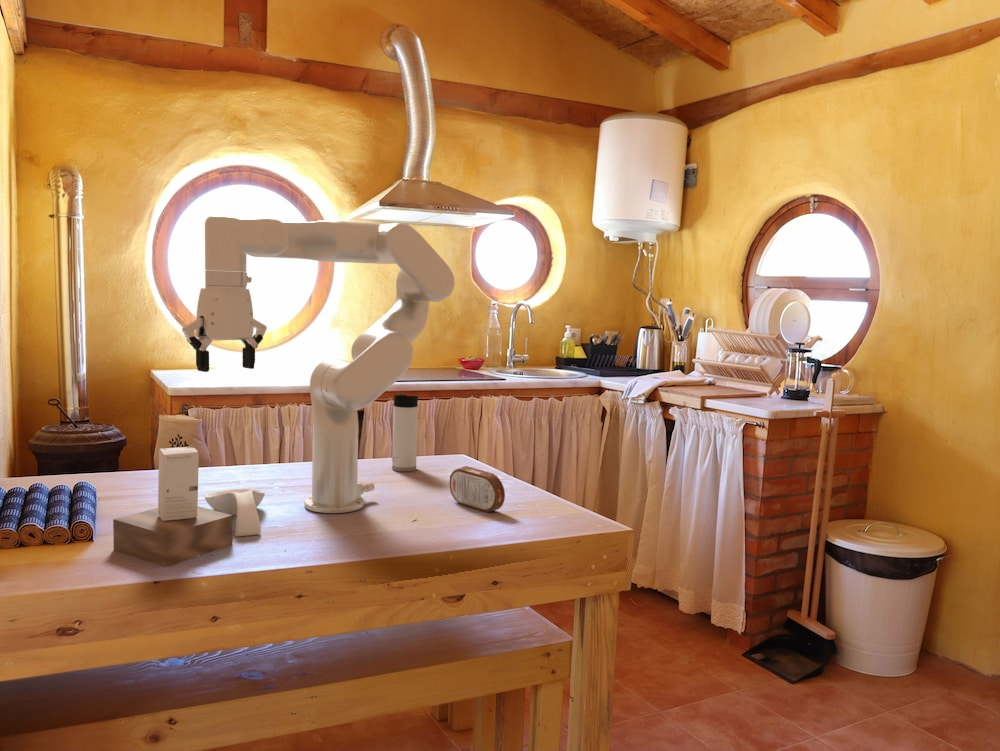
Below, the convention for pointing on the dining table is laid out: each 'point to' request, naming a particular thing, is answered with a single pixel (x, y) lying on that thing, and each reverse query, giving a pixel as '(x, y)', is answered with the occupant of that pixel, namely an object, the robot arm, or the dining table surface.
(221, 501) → the spoon rest
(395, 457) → the travel mug
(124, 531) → the walnut block
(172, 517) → the skincare box
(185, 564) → the dining table surface
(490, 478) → the tin
